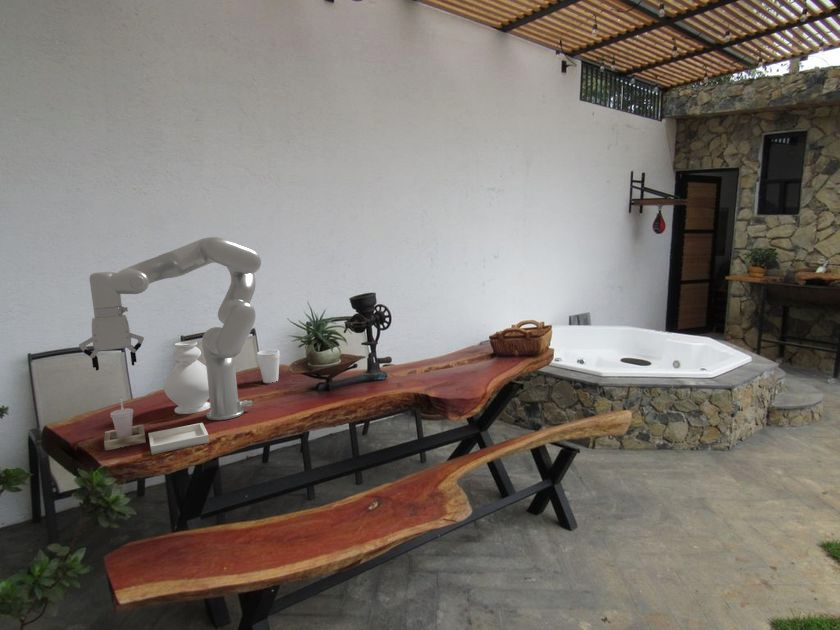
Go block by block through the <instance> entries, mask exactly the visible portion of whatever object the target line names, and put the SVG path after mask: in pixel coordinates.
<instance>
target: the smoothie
mask: <svg viewBox="0 0 840 630" xmlns="http://www.w3.org/2000/svg"><path fill="white" fill-rule="evenodd" d="M119 399H120V409H116V410H113V411H111V412H110V418H111V419H112V422H113V426H114V430H116V434H117V437H118V438H123V437H128V436H133V435H132V426H133V414H135V413H134V412H135V411H134V408H128V407H127V408H124V401H123V397H122V396H121V397H119ZM118 438H117V439H118Z"/></svg>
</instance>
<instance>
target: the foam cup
mask: <svg viewBox="0 0 840 630" xmlns="http://www.w3.org/2000/svg"><path fill="white" fill-rule="evenodd" d="M256 357H257V359H258V360H257V361H258V364H259V365H258V366H259V368H260V373H261V378H262V382H263V383H264V384H273V383H276V381H277V382H278V381H279V370H280V357H281V352H280V350H278V349H266V350H260V351H257V353H256ZM272 382H273V383H272Z"/></svg>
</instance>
